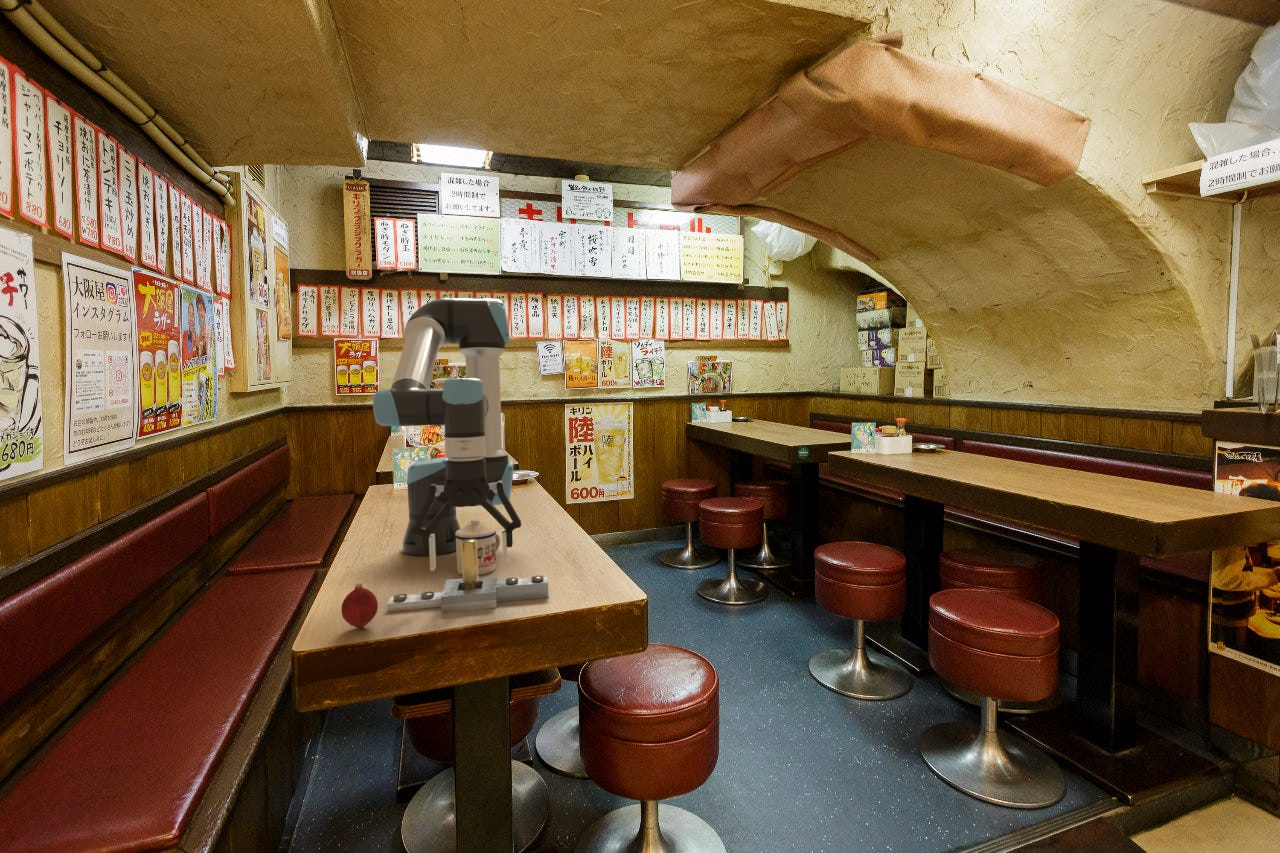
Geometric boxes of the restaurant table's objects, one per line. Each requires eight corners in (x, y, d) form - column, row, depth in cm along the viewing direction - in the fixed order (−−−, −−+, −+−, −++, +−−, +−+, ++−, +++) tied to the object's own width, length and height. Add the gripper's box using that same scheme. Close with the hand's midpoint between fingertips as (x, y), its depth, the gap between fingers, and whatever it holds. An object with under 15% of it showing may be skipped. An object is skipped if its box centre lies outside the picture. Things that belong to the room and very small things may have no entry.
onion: (384, 627, 104) (382, 582, 104) (351, 638, 100) (348, 591, 100) (370, 618, 108) (368, 576, 108) (337, 628, 104) (334, 584, 103)
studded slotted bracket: (394, 598, 119) (393, 580, 118) (546, 585, 125) (546, 569, 125) (384, 617, 109) (383, 598, 108) (549, 602, 115) (548, 584, 115)
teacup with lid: (476, 578, 130) (474, 526, 129) (447, 572, 135) (445, 522, 134) (514, 564, 140) (512, 515, 139) (486, 558, 145) (484, 511, 144)
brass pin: (463, 598, 118) (461, 539, 117) (479, 597, 119) (477, 538, 118) (462, 604, 115) (460, 543, 114) (478, 602, 116) (476, 542, 115)
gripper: (393, 463, 108) (398, 577, 110) (532, 458, 114) (535, 566, 115) (400, 458, 116) (405, 565, 117) (530, 453, 121) (533, 555, 123)
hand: (469, 566), depth 116 cm, fingers open, 13 cm apart
